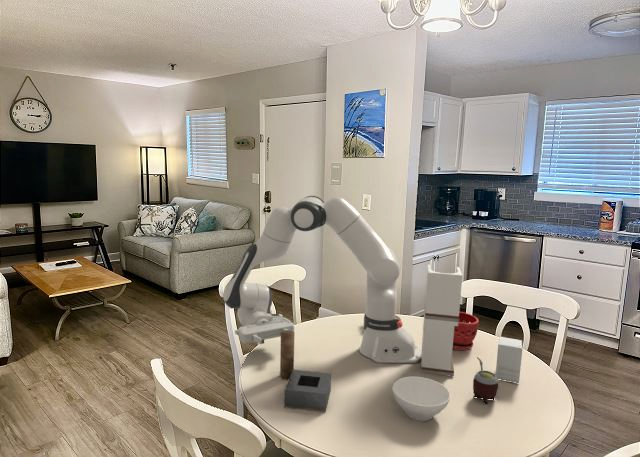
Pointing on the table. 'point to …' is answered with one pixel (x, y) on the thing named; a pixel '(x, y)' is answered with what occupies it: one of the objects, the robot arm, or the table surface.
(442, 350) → the striped white pillar
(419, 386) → the bowl
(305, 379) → the socket block
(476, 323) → the plant pot
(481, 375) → the mate gourd
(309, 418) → the table surface
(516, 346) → the supplement box
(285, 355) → the walnut pin
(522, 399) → the table surface
